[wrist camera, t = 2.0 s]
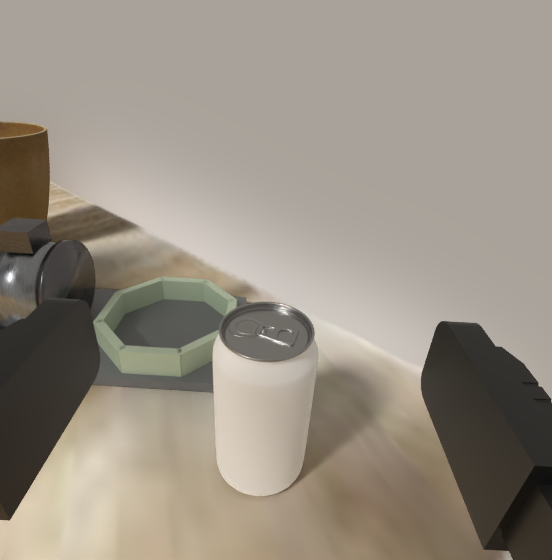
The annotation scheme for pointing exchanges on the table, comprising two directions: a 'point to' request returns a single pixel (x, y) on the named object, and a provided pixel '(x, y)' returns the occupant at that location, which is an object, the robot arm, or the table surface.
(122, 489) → the table surface
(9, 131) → the plant pot
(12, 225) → the cylinder
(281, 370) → the can
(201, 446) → the table surface
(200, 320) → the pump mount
